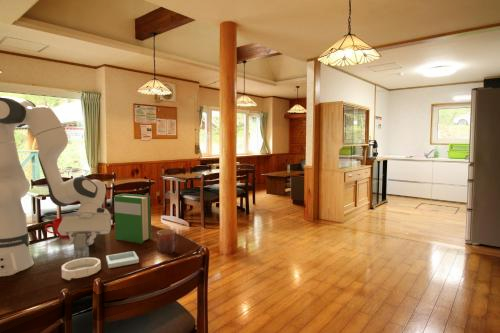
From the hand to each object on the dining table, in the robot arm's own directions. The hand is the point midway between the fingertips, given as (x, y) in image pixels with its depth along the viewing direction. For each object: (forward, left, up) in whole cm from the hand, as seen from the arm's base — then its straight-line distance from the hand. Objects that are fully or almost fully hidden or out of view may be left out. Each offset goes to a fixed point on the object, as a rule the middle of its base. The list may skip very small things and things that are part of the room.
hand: (80, 243), depth 128 cm
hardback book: (+26, +35, -13) cm, 45 cm away
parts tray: (+16, +3, -12) cm, 21 cm away
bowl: (0, +1, -12) cm, 12 cm away
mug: (+36, +8, -13) cm, 39 cm away
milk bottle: (+3, +39, -13) cm, 41 cm away
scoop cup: (0, +1, -6) cm, 6 cm away
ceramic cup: (-7, +57, -13) cm, 58 cm away
